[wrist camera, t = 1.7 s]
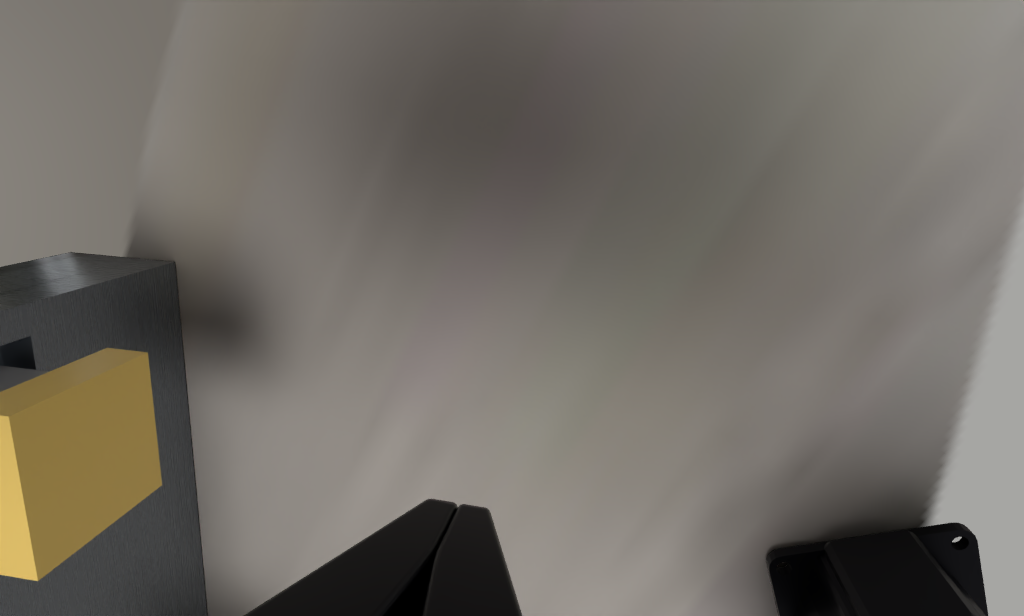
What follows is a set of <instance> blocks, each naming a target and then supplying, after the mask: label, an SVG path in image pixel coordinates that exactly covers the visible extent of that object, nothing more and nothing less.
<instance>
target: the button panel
mask: <svg viewBox="0 0 1024 616" xmlns="http://www.w3.org/2000/svg"><path fill="white" fill-rule="evenodd" d="M105 348H114V349H122V350H131V351H140V352H148V359H149V368H150V378H151V387H152V396H153V405H154V414H155V424H156V433H157V442H158V451H159V461H160V470H161V479H162V486H160V487H159V488H158V489H156V490H155V491H154V492H153V493H151V494H150V495H149V496H147V497H146V498H145V499H144V500H142V501H141V502H140V503H138V504H137V505H136V506H135V507H133V508H132V509H131V510H129V511H128V512H127V513H125V514H124V515H123V516H122V517H120V518H119V519H118V520H116V521H115V522H114V523H113V524H111V525H110V526H109V527H107V528H106V529H105V530H104V531H102V532H101V533H100V534H98V535H97V536H96V537H94V538H93V539H92V540H91V541H89V542H88V543H87V544H85V545H84V546H83V547H82V548H80V549H79V550H78V551H76V552H75V553H74V554H72V555H71V556H70V557H69V558H67V559H66V560H65V561H63V562H62V563H61V564H60V565H58V566H57V567H56V568H54V569H53V570H52V571H51V572H49V573H48V574H47V575H45V576H44V577H43V578H41V579H40V580H39V581H34V580H28V579H22V578H16V577H11V576H5V575H0V616H207V606H206V595H205V585H204V574H203V563H202V552H201V541H200V530H199V519H198V509H197V498H196V487H195V476H194V465H193V454H192V443H191V432H190V422H189V411H188V400H187V389H186V378H185V367H184V356H183V345H182V335H181V324H180V313H179V302H178V291H177V280H176V269H175V262H170V261H159V260H149V259H138V258H127V257H116V256H106V255H95V254H84V253H73V252H70V253H65V254H60V255H55V256H51V257H46V258H41V259H36V260H32V261H27V262H22V263H17V264H12V265H8V266H3V267H0V366H8V367H16V368H24V369H33V370H41V371H49V372H50V371H52V370H55V369H57V368H59V367H62V366H64V365H67V364H69V363H72V362H74V361H76V360H79V359H81V358H84V357H86V356H88V355H91V354H93V353H96V352H98V351H100V350H103V349H105Z"/></svg>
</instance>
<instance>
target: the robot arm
mask: <svg viewBox="0 0 1024 616" xmlns="http://www.w3.org/2000/svg"><path fill="white" fill-rule="evenodd" d="M959 536H960V537H962V538H961V539H960V541H958V542H955V543H954V542H952V541H953V540H954V538H956V537H959ZM782 562H786V563H788V564H787V566H785V567H777V565H778V564H779V563H782ZM766 564H767V568H768V573H769V577H770V581H771V586H772V590H773V594H774V598H775V603H776V607H777V611H778V616H988V611H987V604H986V597H985V590H984V584H983V577H982V570H981V563H980V556H979V549H978V543H977V539H976V537H975V535H974V534H973V533H972V532H971V531H970V530H969V529H968V528H967V527H966V526H965V525H963V524H960V523H948V524H940V525H934V526H927V527H920V528H914V529H907V530H898V531H891V532H885V533H878V534H871V535H865V536H858V537H851V538H845V539H838V540H832V541H828V542H821V543H814V544H808V545H801V546H794V547H788V548H781V549H777V550H773V551H772V552H771V553H769V554H768V556H767V558H766ZM244 616H522V613H521V610H520V607H519V603H518V600H517V597H516V594H515V591H514V587H513V584H512V581H511V578H510V574H509V571H508V568H507V565H506V562H505V558H504V555H503V552H502V549H501V545H500V542H499V539H498V536H497V533H496V529H495V526H494V523H493V520H492V516H491V513H490V511H489V510H488V509H487V508H484V507H478V506H472V505H466V504H462V505H460V506H459V507H457V505H456V504H455V503H453V502H448V501H442V500H436V499H428V500H425V501H424V502H422V503H421V504H419V505H417V506H416V507H414V508H413V509H411V510H410V511H408V512H406V513H405V514H403V515H402V516H400V517H399V518H397V519H395V520H394V521H392V522H391V523H389V524H387V525H386V526H384V527H383V528H381V529H380V530H378V531H376V532H375V533H373V534H372V535H370V536H369V537H367V538H365V539H364V540H362V541H361V542H359V543H358V544H356V545H354V546H353V547H351V548H350V549H348V550H346V551H345V552H343V553H342V554H340V555H339V556H337V557H335V558H334V559H332V560H331V561H329V562H328V563H326V564H324V565H323V566H321V567H320V568H318V569H317V570H315V571H313V572H312V573H310V574H309V575H307V576H305V577H304V578H302V579H301V580H299V581H298V582H296V583H294V584H293V585H291V586H290V587H288V588H287V589H285V590H283V591H282V592H280V593H279V594H277V595H276V596H274V597H272V598H271V599H269V600H268V601H266V602H264V603H263V604H261V605H260V606H258V607H257V608H255V609H253V610H252V611H250V612H249V613H247V614H246V615H244Z"/></svg>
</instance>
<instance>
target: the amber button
mask: <svg viewBox="0 0 1024 616" xmlns="http://www.w3.org/2000/svg"><path fill="white" fill-rule="evenodd" d="M160 486H162V479H161V470H160V461H159V451H158V442H157V433H156V424H155V414H154V405H153V396H152V387H151V378H150V368H149V359H148V352H140V351H131V350H122V349H114V348H105V349H103V350H100V351H98V352H96V353H93V354H91V355H88V356H86V357H84V358H81V359H79V360H76V361H74V362H72V363H69V364H67V365H64V366H62V367H59V368H57V369H55V370H52V371H50V372H49V371H41V370H33V369H24V368H16V367H8V366H0V575H5V576H11V577H16V578H22V579H28V580H34V581H39V580H40V579H41V578H43V577H44V576H45V575H47V574H48V573H49V572H51V571H52V570H53V569H54V568H56V567H57V566H58V565H60V564H61V563H62V562H63V561H65V560H66V559H67V558H69V557H70V556H71V555H72V554H74V553H75V552H76V551H78V550H79V549H80V548H82V547H83V546H84V545H85V544H87V543H88V542H89V541H91V540H92V539H93V538H94V537H96V536H97V535H98V534H100V533H101V532H102V531H104V530H105V529H106V528H107V527H109V526H110V525H111V524H113V523H114V522H115V521H116V520H118V519H119V518H120V517H122V516H123V515H124V514H125V513H127V512H128V511H129V510H131V509H132V508H133V507H135V506H136V505H137V504H138V503H140V502H141V501H142V500H144V499H145V498H146V497H147V496H149V495H150V494H151V493H153V492H154V491H155V490H156V489H158V488H159V487H160Z"/></svg>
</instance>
